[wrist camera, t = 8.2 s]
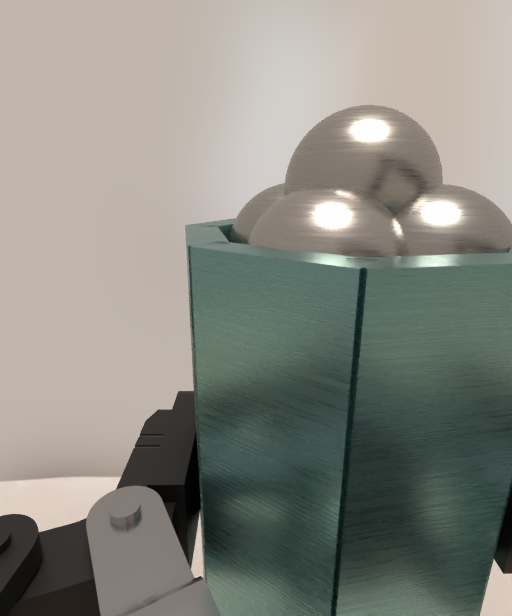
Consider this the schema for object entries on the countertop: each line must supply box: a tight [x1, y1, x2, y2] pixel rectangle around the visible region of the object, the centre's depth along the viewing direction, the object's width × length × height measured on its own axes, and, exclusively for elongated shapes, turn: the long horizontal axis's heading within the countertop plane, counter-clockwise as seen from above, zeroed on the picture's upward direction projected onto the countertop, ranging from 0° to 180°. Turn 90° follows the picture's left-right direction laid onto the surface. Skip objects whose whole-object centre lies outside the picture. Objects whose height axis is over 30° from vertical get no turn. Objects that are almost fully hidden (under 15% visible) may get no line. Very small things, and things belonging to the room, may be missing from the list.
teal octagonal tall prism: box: [185, 105, 512, 616], centre depth 9 cm, size 6×6×16 cm
